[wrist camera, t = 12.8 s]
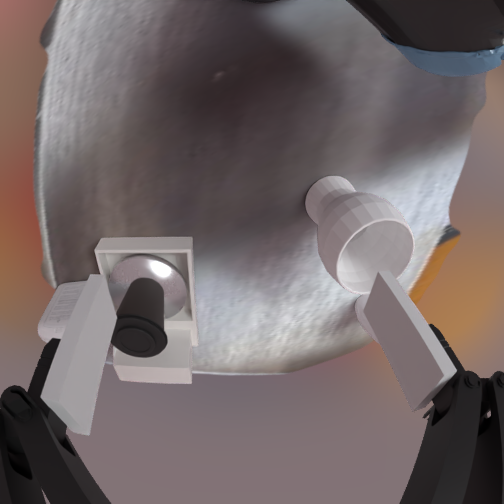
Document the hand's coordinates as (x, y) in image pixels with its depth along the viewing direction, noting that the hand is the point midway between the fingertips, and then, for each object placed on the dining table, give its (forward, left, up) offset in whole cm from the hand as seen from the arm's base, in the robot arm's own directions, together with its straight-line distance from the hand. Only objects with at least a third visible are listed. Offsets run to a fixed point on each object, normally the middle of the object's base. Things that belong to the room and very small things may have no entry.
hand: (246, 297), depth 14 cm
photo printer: (+22, -24, -27) cm, 43 cm away
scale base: (+22, -12, -27) cm, 36 cm away
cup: (+6, +15, -27) cm, 31 cm away
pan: (+19, -12, -26) cm, 34 cm away
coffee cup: (+19, -12, -23) cm, 32 cm away
